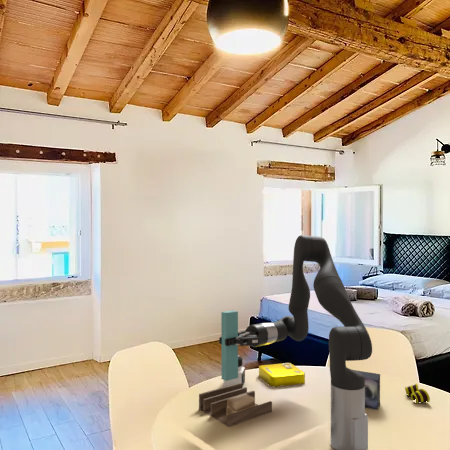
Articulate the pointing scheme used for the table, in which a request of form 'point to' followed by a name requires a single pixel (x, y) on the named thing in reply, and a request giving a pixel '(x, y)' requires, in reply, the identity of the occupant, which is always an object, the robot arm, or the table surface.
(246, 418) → the wooden rack
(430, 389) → the table surface
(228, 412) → the lower oak offcut
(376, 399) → the small box
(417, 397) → the opera glasses
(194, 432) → the table surface
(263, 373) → the element tile
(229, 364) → the teal board
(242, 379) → the medicine bottle
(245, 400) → the upper oak offcut
